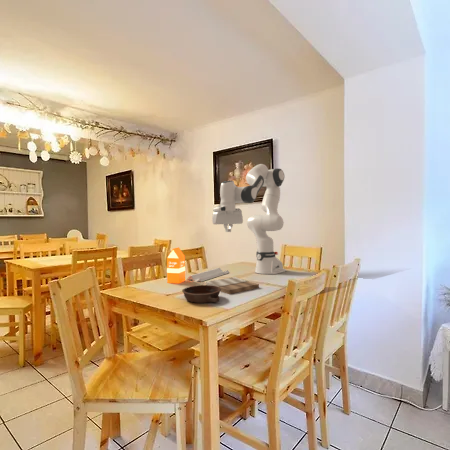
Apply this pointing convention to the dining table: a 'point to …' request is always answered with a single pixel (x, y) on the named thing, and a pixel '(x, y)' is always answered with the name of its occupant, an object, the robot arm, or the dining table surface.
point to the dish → (202, 293)
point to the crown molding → (207, 275)
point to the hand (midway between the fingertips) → (228, 231)
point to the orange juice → (176, 266)
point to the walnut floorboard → (238, 287)
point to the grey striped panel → (225, 281)
